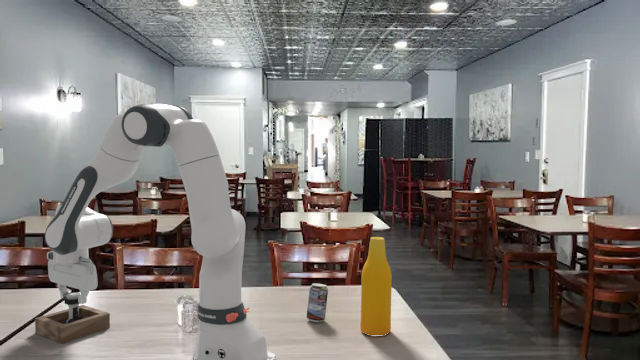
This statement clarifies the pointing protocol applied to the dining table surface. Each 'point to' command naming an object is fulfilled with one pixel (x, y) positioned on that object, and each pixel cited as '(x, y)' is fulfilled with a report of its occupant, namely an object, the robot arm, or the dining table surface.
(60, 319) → the wooden tray
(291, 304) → the dining table surface
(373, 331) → the beer bottle
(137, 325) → the dining table surface
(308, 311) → the beverage can
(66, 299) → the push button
